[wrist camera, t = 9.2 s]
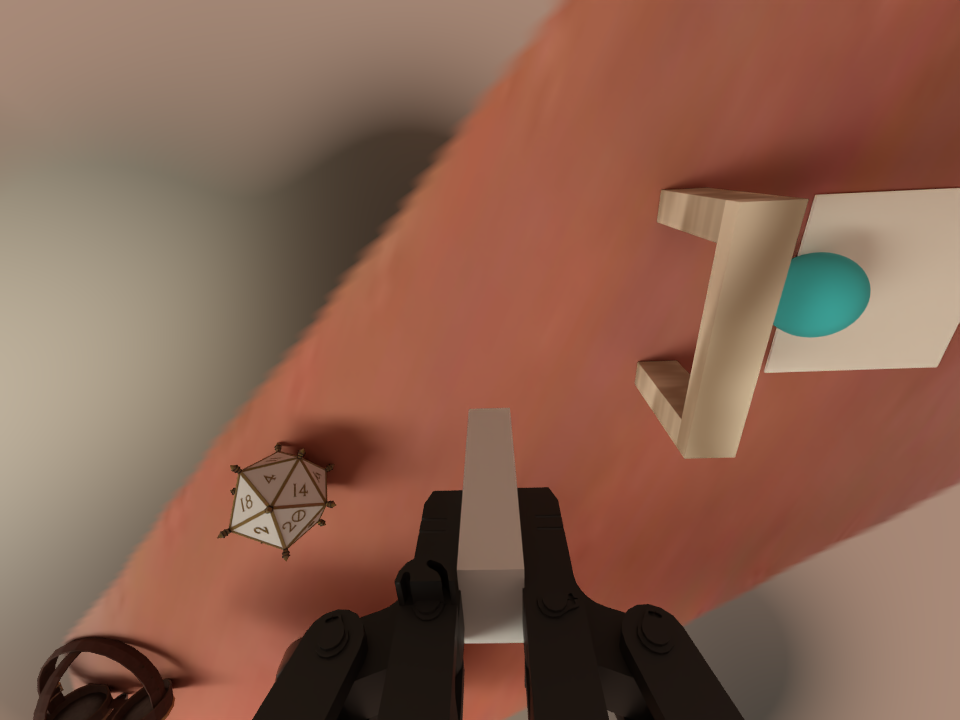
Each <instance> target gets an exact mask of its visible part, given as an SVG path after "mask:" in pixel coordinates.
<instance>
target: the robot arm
mask: <svg viewBox="0 0 960 720" xmlns="http://www.w3.org/2000/svg"><path fill="white" fill-rule="evenodd" d="M419 531H420V533H419V536H418V541H417V547H416V552H415V557H414V559H413V560H411V561H409V562H407V563H406V564H405V565H404V566H403V567H402V569H401V570H400V571H399V572H398V575H397V577H396V579H395V587H396V591H397V596H398V601H396V602H395V603H394V604H392V605H391V606H390V607H387V608H385V609H383V610H381V611H378V612H375V613H372V614H370V615H367V616H364V617H361V618H359V616H358V615H357V614H356V613H354V612H352V611H350V610H335V611H332V612H329V613H326V614H325V615H323V616H322V617H320V618H319V619H318V620H316V621H315V622H314V623H313V624H312V625H311V627H310V628H309V629H308V630H307V632H306V633H305V635H304V636H303V638H301V639H299V640H297V641H296V642H294V643H293V644H292V645H290V646H289V647H288V649H287V650H286V652H285V654H284V656H283V659H282V661H281V664H280V666H279V668H278V671H277V674H276V679H275V683H274V685H273V687H272V688H271V690H270V691H269V693H268V695H267V696H266V698H265V700H264V701H263V703H262V705H261V706H260V708H259V709H258V711H257V713H256V714H255V716H254V718H253V719H252V720H462V717H463V694H464V671H465V670H464V661H463V651H464V643H524V653H525V688H526V694H527V708H528V720H609V717H608V712H607V710H609V711H611V712H614V713H615V715H616V718H617V720H744V718H743V717H742V715H741V714H740V712H739V711H738V709H737V708H736V706H735V705H734V703H733V702H732V700H731V699H730V697H729V696H728V694H727V693H726V691H725V690H724V688H723V687H722V685H721V684H720V682H719V681H718V679H717V677H716V676H715V675H714V673H713V671H712V670H711V669H710V667H709V665H708V664H707V663H706V661H705V659H704V658H703V656H702V655H701V653H700V652H699V650H698V649H697V647H696V646H695V644H694V643H693V641H692V640H691V638H690V637H689V635H688V634H687V632H686V631H685V629H684V628H683V626H682V625H681V624H680V623H679V622H678V621H677V620H676V618H675V617H674V616H673V615H671V614H670V613H668V612H667V611H665V610H663V609H662V608H659V607H656V606H653V605H649V604H644V605H636V606H634V607H632V608H630V609H629V610H628V611H627V612H626V613H624V612H621V611H618V610H615V609H611V608H608V607H605V606H603V605H600V604H598V603H596V602H594V601H593V600H591V599H590V598H588V597H587V596H586V595H585V594H584V593H583V592H582V591H581V590H580V588H579V586H578V585H577V583H576V581H575V578H574V575H573V570H572V565H571V561H570V556H569V551H568V546H567V541H566V537H565V532H564V528H563V522H562V517H561V513H560V508H559V503H558V499H557V498H556V497H555V495H554V494H553V493H552V491H551V490H550V489H549V488H548V487H542V488H517V482H516V471H515V460H514V449H513V438H512V427H511V416H510V408H488V409H469V415H468V429H467V442H466V455H465V468H464V481H463V490H458V491H433V492H432V494H431V495H430V497H429V498H428V500H427V501H426V502H425V504H424V509H423V514H422V521H421V525H420V530H419Z"/></svg>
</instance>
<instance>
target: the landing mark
mask: <svg viewBox="0 0 960 720" xmlns="http://www.w3.org/2000/svg"><path fill="white" fill-rule="evenodd" d="M815 252H829V253H835V254H839V255H842V256H845V257H847V258H849V259H851V260H853V261H854V262H856V263H857V264H858V265H859V266H860V267H861V268H862V269H863V270H864V271H865V273H866V275H867V277H868V279H869V282H870V288H871V292H870V299H869V302H868V305H867V307H866V309H865V311H864V312H863V313H862V315H861V316H860V317H859V318H858V319H857V320H856V321H855V322H854V323H853V324H851V325H850V326H848V327H847V328H845V329H843V330H841V331H839V332H836V333H834V334H831V335H827V336H822V337H811V338H809V337H799V336H794V335H791V334H788V333H786V332H784V331H782V330H780V329H778V328H776V332H775V335H774V338H773V342H772V345H771V349H770V352H769V356H768V359H767V363H766V366H765V369H764V372H765V373H773V372H804V371H834V370H864V369H895V368H925V367H937V366H938V364H939V362H940V360H941V358H942V356H943V354H944V352H945V350H946V348H947V346H948V344H949V342H950V340H951V338H952V336H953V334H954V332H955V330H956V328H957V326H958V324H959V322H960V188H945V189H925V190H904V191H883V192H862V193H841V194H821V195H815V197H814V201H813V204H812V208H811V211H810V214H809V218H808V221H807V225H806V228H805V232H804V235H803V239H802V242H801V245H800V249H799V252H798V256H800V255H803V254H808V253H815Z"/></svg>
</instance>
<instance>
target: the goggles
mask: <svg viewBox="0 0 960 720" xmlns="http://www.w3.org/2000/svg"><path fill="white" fill-rule="evenodd" d="M69 652H70V653H69ZM81 652H91V653H95V654H99V655H103V656H106V657H108V658H110V659H112V660H114V661H116V662H118V663H120V664H121V665H123V666H124V667H125V668H127V669H128V670H130V671H131V672H132V673H133V674H134V675H135V676H136V677H137V678H138V679H139V681H140V682H141V683H142V684H143V686H144V687H143V688H141V689H140V690H139V691H138V692H136V693H135V694H134V695H133V696H131V697H130V698H129V699H128V694H126V693H123V694H121V695H119V696H117V697H116V698H115V699H113V697H112V696H111V693H110V690H109V687H108V685H106V684H100V685H97V684H88V685H86V686H83V687H80V688H78V689H76V690H74V691H73V692H71V693H69V694H67V695H66V696H63V694H62V692H61V691H63V688H62V686H61V683H60V682H59V681H60V679H61V677H62V676H63V674H64V673H65V671H66V670H67V669H68V667H69V666H70V664H71V663H72V662H73V661H74V659H75V658H76V657H77V656H78V655H79V654H80V653H81ZM64 653H69V654H68V655H67V656H66V657H65V658H64V659H63V660H62V661H61V662H60V664H59V665H58V667H57V668H56V669H55V664H56V662H57V659H58V656H59V655H61V654H64ZM37 682H38V683H37V684H38V685H37V686H38V687H37V688H38V694H39V699H38V703H37V706H36V709H35V712H34V717H33V720H165V719H166V718H167V716H168V715H169V713H170V712H171V710H172V708H173V706H174V701H175V697H174V696H173V691H172V682H171V681H170V679H164V680H163V679H162V677H161V676H160V674H159V672H158V670H157V668H156V667H155V666H154V665H153V664H152V663H151V662H150V660H149V659H148V658H147V657H146V656H144V655H143V654H142V653H140V652H139V651H138V650H136V649H135V648H134V647H132V646H129V645H127V644H125V643H123V642H121V641H117V640H111V639H106V638H83V639H78V640H74V641H72V642H70V643H68V644H66V645H64V646H62V647H60V648H59V649H57V650H55V651H54V653H53V654H52V655H51V656H50V657H49V658H48V659H47V661H46V662H45V664H44V665H43V667H42V668H41V671H40V674H39V676H38V680H37ZM60 690H61V691H60ZM111 711H112V712H111Z"/></svg>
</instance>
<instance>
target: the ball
mask: <svg viewBox="0 0 960 720" xmlns="http://www.w3.org/2000/svg"><path fill="white" fill-rule="evenodd" d="M870 292H871V288H870V282H869V279H868V277H867V275H866V273H865V271H864V270H863V269H862V268H861V267H860V266H859V265H858V264H857V263H856V262H854V261H853V260H851V259H849V258H847V257H845V256H842V255H839V254H835V253H829V252H815V253H808V254H803V255H800V256H797V257H795V258H792V259H791V263H790V266H789V270H788V273H787V277H786V280H785V284H784V287H783V291H782V294H781V298H780V301H779V305H778V308H777V312H776V315H775V319H774V322H773V325H774V326H776V327H777V328H778V329H780V330H782V331H784V332H786V333H788V334H791V335H794V336H799V337H809V338H811V337H822V336H827V335H831V334H834V333H836V332H839V331H841V330H843V329H845V328H847V327H848V326H850V325H851V324H853V323H854V322H855V321H856V320H857V319H858V318H859V317H860V316H861V315H862V313H863V312H864V311H865V309H866V307H867V305H868V302H869V299H870Z"/></svg>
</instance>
